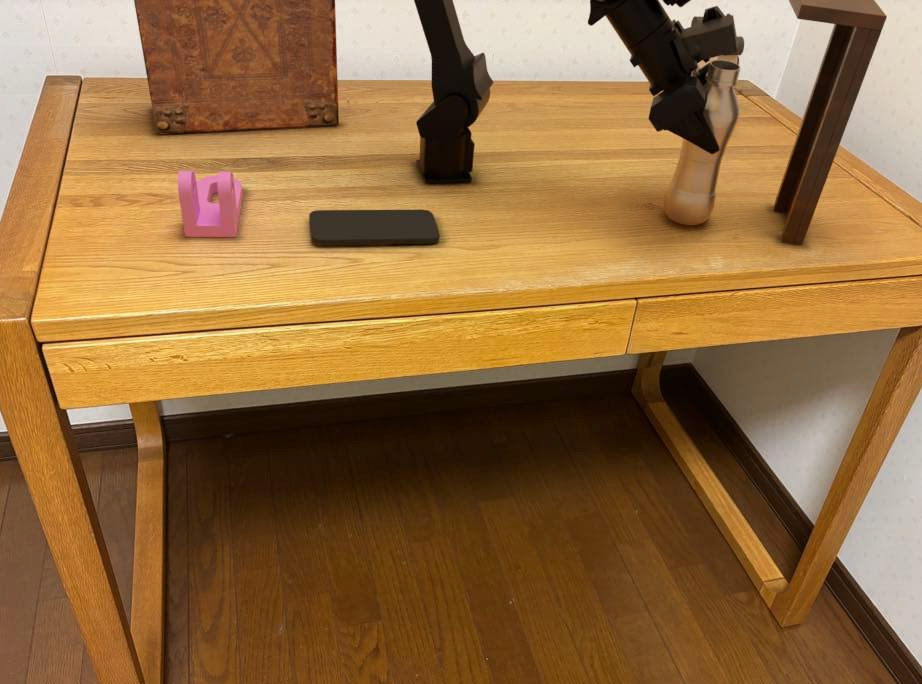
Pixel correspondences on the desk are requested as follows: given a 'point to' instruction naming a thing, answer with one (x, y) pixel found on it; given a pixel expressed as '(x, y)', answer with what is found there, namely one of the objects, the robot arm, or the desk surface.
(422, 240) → the phone
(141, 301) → the desk surface
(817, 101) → the dark wooden stand
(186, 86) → the book
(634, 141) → the desk surface
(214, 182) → the bracket
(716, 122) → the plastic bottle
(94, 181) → the desk surface
